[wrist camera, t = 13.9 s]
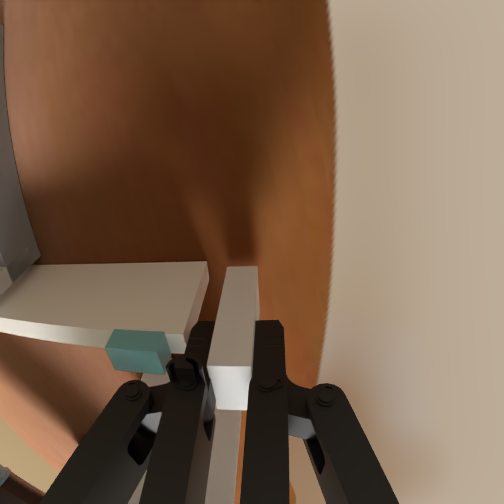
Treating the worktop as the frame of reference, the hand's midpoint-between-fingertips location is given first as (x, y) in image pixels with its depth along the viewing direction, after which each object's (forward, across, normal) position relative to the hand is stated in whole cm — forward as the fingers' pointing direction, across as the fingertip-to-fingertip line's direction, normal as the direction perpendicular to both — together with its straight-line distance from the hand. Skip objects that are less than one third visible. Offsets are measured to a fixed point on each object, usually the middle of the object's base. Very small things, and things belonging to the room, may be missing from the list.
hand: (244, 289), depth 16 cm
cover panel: (+2, +11, 0) cm, 11 cm away
